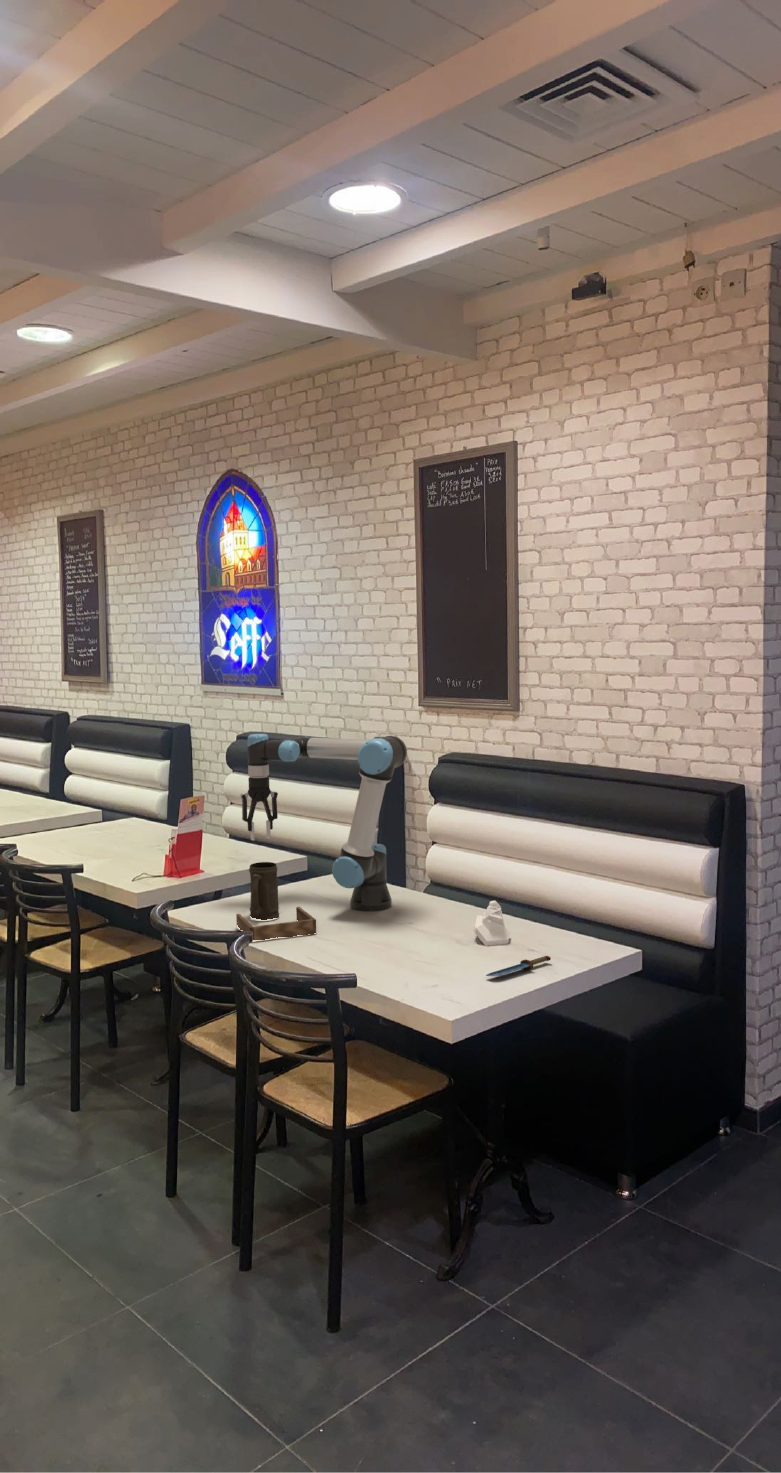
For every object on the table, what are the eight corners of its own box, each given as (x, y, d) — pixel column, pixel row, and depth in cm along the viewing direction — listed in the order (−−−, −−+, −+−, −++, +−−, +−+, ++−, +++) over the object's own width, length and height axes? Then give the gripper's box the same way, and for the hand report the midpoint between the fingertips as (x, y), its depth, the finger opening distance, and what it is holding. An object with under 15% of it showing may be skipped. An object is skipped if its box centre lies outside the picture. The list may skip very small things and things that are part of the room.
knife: (495, 971, 292) (483, 970, 296) (496, 982, 292) (484, 980, 296) (554, 953, 307) (542, 952, 311) (555, 963, 307) (543, 962, 311)
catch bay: (299, 920, 360) (299, 906, 360) (316, 934, 343) (316, 919, 343) (236, 928, 352) (236, 914, 351) (250, 942, 335) (250, 927, 334)
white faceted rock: (510, 938, 341) (520, 899, 337) (504, 955, 326) (515, 915, 323) (474, 927, 343) (484, 888, 340) (466, 943, 329) (476, 903, 326)
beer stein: (253, 913, 371) (250, 860, 368) (282, 913, 370) (279, 860, 367) (244, 927, 356) (242, 873, 353) (275, 927, 355) (272, 872, 352)
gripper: (280, 773, 384) (281, 835, 387) (231, 776, 377) (233, 839, 380) (285, 775, 377) (287, 838, 380) (236, 779, 371) (238, 843, 373)
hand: (260, 839), depth 380 cm, fingers open, 5 cm apart
